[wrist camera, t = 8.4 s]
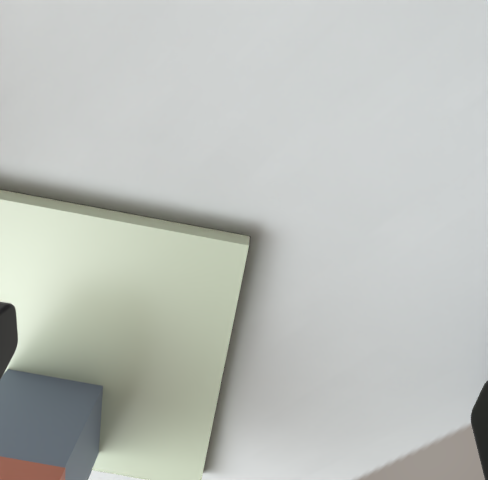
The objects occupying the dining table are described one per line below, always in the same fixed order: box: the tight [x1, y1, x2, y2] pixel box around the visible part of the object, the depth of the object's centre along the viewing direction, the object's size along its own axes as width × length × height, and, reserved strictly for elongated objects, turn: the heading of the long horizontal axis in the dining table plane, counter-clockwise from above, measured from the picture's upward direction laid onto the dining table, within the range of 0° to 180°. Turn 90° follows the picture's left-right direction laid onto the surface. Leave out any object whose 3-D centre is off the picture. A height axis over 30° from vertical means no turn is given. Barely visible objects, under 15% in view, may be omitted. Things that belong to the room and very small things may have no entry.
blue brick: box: [0, 369, 103, 480], centre depth 23 cm, size 5×5×5 cm
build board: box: [0, 190, 250, 480], centre depth 24 cm, size 13×16×1 cm
